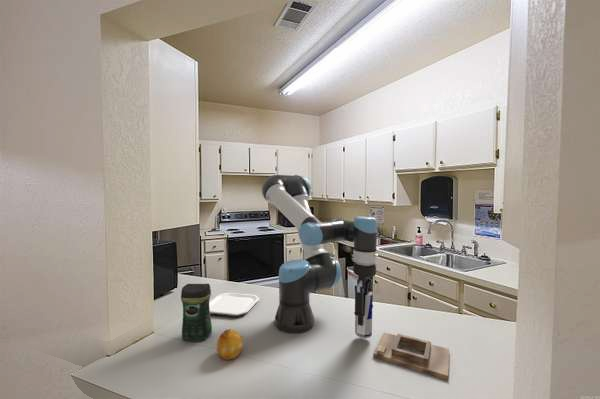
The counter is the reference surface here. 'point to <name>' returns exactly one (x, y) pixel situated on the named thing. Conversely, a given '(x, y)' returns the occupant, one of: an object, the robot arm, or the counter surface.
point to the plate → (232, 304)
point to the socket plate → (414, 354)
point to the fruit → (229, 344)
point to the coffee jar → (196, 312)
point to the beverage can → (368, 317)
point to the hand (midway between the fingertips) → (363, 329)
